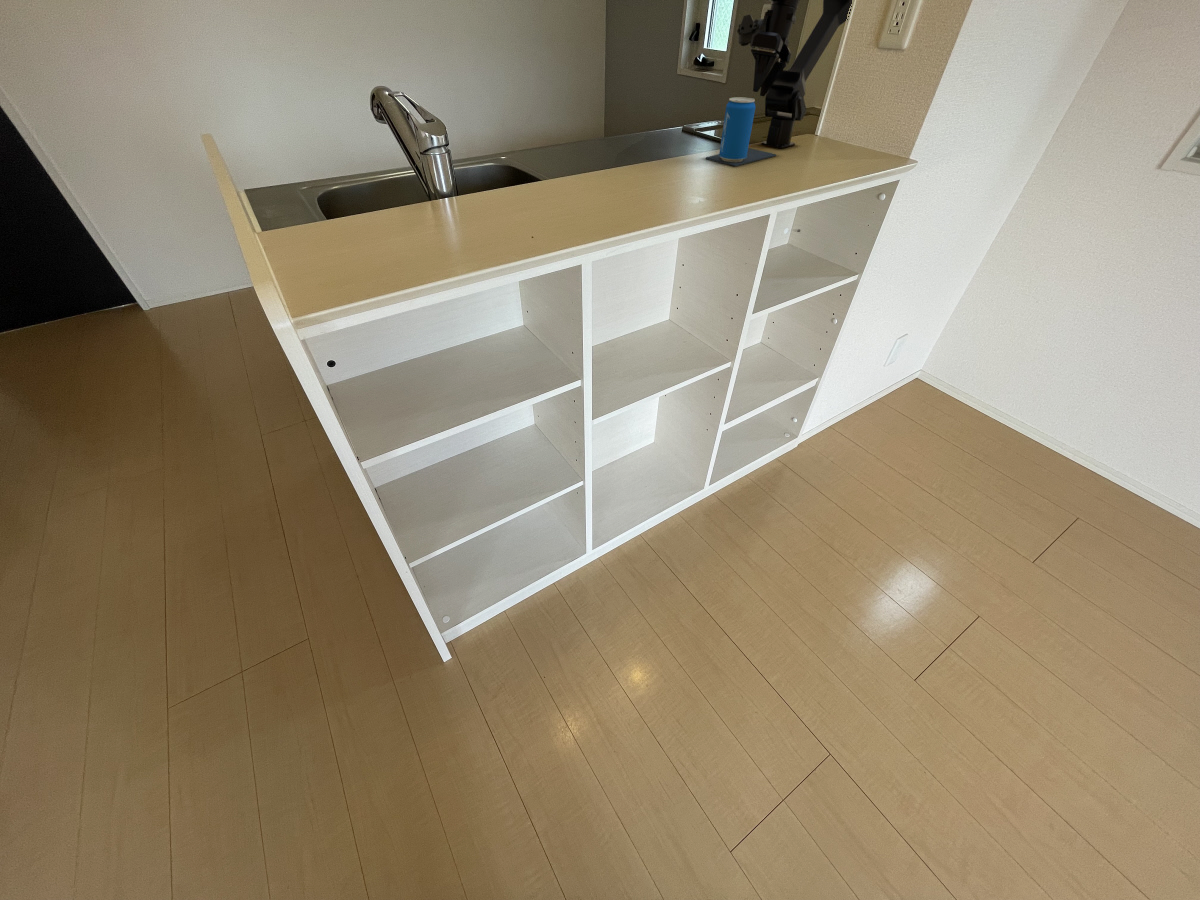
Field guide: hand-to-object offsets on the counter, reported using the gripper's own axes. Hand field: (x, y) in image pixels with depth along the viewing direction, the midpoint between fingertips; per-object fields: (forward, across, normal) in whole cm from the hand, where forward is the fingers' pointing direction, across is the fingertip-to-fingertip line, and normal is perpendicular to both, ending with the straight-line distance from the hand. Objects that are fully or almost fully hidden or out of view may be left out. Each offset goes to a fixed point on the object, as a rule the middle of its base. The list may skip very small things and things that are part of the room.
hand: (758, 94), depth 119 cm
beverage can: (+14, +7, 0) cm, 16 cm away
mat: (+13, +2, +1) cm, 13 cm away
